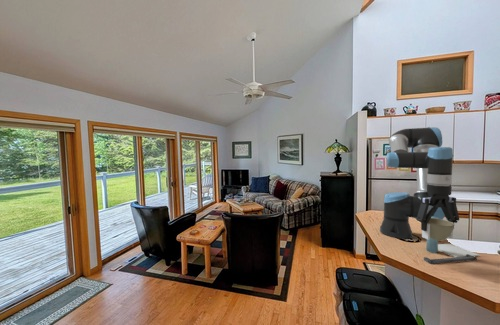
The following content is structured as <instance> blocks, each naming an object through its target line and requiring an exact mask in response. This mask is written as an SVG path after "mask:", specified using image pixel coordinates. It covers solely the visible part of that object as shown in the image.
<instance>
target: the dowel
mask: <svg viewBox="0 0 500 325" xmlns="http://www.w3.org/2000/svg"><path fill="white" fill-rule="evenodd" d="M431 218H436V219H439V218H437V217H433V216H432V217H431ZM438 244H439V240H435V239H432V238H430V240H428V239H426V248H425V249H426V252H428V253H432V254H438V252H439V250H438Z"/></svg>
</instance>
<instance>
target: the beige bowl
mask: <svg viewBox="0 0 500 325" xmlns="http://www.w3.org/2000/svg"><path fill="white" fill-rule="evenodd" d="M425 220H426V219H425ZM428 223H429V224H430V238H432V239H435V240H438V241H445V240H447V239H448V238H449V235H450V234H451V233H452V231H453V232H454V229H455V223H452V222H449V221H448V220H447V219H436V218H431V219H430V220H429V222H428ZM453 228H454V229H453Z"/></svg>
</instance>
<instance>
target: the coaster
mask: <svg viewBox="0 0 500 325" xmlns="http://www.w3.org/2000/svg"><path fill="white" fill-rule="evenodd" d="M438 252H441V253H444V254H445V255H448V256H450V257H451V258H457V257H467V256H466V254H469V255H472V256H478V257H480V254H478V253H475V252H473V251H470V250H468V249H465V248H462V247H460V246H457V245H455V244H453V243H438Z"/></svg>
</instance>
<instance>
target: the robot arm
mask: <svg viewBox="0 0 500 325" xmlns="http://www.w3.org/2000/svg"><path fill="white" fill-rule="evenodd" d="M388 145H389V147H390V152H387V153H386V167H387V168H395V169H398V168H399V169H416V191H415V192H413V195H410V193H408V192H399V191H398V192H389V193H386V194H385V195H384V199H383V220H382V221H381V225H380V226H379V232H380V233H381V234H383V235H385V236H387V237H391V238H395V239H396V238H397V239H411V238H413V231H412V228H411V225H410V222H409V220H410V219H409V218H412V219H415V220H417V221H418V222H420V224H421V225H420V226H421V227H420V229H421V237H422V238H423V239H425V240H427V239H428V240H430V224H429V223H428V222H429V220H430V219H431V217H432V216H433V217H437V218H439V219H442V220H444V218H445V220H446V221H449V222H452V223H454V224H457V223H458V222H459V221H460V216H459V212H458V208H457V207H458V206H457V198H456V197H454V196H451V195H452V190H453V189H452V186H451V185H452V182H453V181H452V178H453V176H452V175H453V159H454V158H453V157H454V154H453V153H454V152H453V147H450V146H447V147H446V146H444V147H443V134H442V130H440V128H439V127H435V126H434V127H431V126H429V127H417V128H416V127H414V128H403V129H400V130H398V131H396V132H394V133H393V134H392V135H391V136H390V137H389V139H388ZM409 148H412V150H413V151H409ZM425 219H426V220H425ZM454 229H455V227H454V228H453V231H452V233H451V234H450V235H449V237H448V238H449V239H453V238H454Z"/></svg>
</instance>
